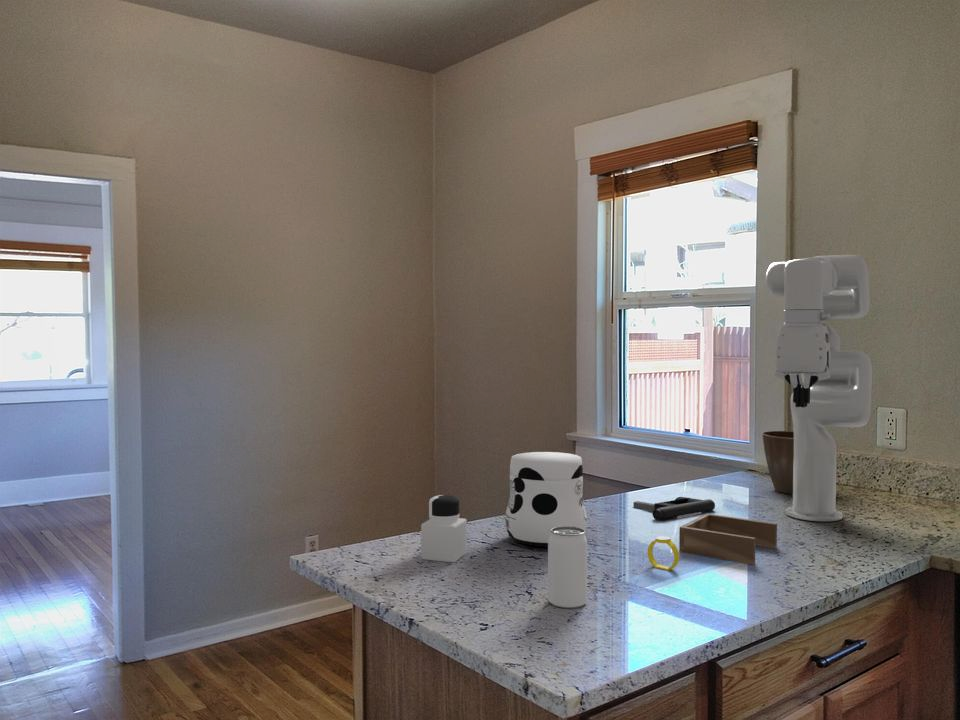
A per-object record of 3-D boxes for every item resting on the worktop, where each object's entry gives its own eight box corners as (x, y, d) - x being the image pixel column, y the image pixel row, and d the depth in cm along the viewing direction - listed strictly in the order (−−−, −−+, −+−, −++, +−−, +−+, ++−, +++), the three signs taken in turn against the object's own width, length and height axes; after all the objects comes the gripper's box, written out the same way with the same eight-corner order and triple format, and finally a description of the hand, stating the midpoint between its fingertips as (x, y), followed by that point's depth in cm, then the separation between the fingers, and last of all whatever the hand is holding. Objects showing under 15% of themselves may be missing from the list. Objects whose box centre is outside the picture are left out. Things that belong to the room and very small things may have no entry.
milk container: (602, 540, 168) (603, 457, 168) (553, 557, 156) (553, 467, 155) (539, 526, 180) (539, 448, 179) (488, 541, 167) (488, 457, 167)
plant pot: (817, 488, 224) (818, 432, 223) (820, 498, 210) (821, 439, 209) (762, 484, 229) (762, 429, 229) (760, 494, 215) (761, 436, 215)
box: (706, 535, 172) (706, 513, 172) (776, 547, 163) (777, 523, 163) (679, 551, 160) (679, 527, 160) (753, 564, 151) (753, 539, 151)
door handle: (616, 501, 197) (664, 510, 184) (671, 492, 208) (720, 499, 195) (616, 514, 197) (664, 524, 183) (672, 505, 208) (721, 513, 195)
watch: (646, 568, 149) (644, 537, 150) (653, 565, 152) (651, 534, 152) (674, 572, 145) (672, 540, 145) (681, 569, 147) (680, 537, 148)
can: (544, 596, 133) (545, 526, 132) (582, 595, 134) (582, 525, 133) (551, 609, 127) (551, 536, 126) (590, 608, 127) (591, 535, 127)
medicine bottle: (467, 553, 158) (467, 494, 158) (454, 563, 152) (454, 501, 151) (434, 550, 161) (434, 492, 160) (420, 559, 154) (420, 499, 154)
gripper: (845, 318, 162) (844, 407, 163) (771, 319, 171) (770, 403, 172) (837, 318, 156) (835, 410, 157) (760, 319, 165) (759, 406, 166)
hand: (801, 406), depth 164 cm, fingers closed
